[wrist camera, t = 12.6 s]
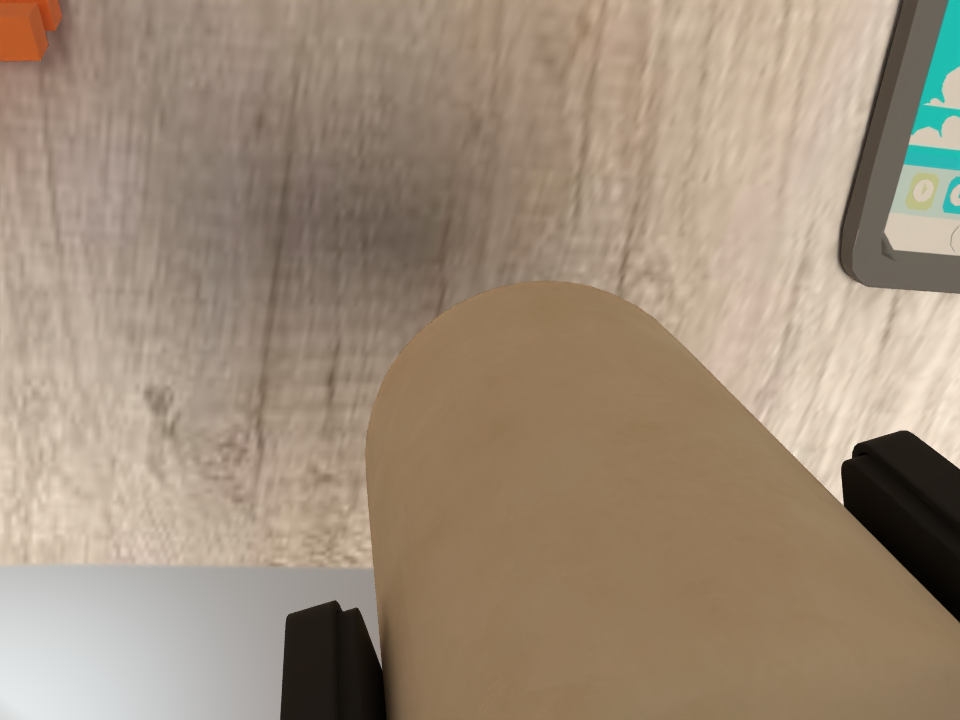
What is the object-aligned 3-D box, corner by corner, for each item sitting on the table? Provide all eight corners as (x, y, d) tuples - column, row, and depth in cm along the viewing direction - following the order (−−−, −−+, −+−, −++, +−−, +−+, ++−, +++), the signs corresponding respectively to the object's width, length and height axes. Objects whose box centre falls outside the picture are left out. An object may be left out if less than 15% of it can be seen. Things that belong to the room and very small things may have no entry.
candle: (601, 613, 16) (950, 1404, 7) (311, 526, 15) (291, 1406, 6) (755, 348, 15) (1449, 934, 6) (449, 219, 13) (732, 749, 4)
